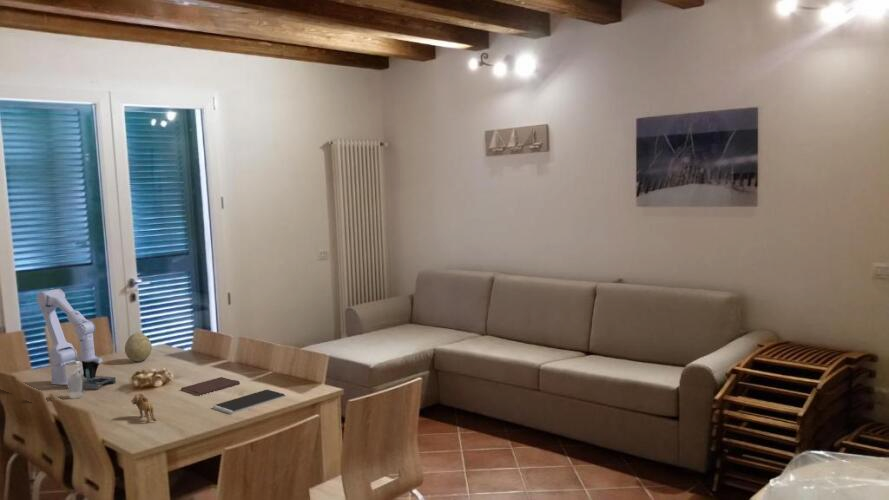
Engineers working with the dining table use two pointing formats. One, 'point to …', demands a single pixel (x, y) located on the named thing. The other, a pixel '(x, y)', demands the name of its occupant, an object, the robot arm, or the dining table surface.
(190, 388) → the notebook
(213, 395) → the dining table surface
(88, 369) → the peg
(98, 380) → the keyhole plate
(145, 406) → the lion figurine
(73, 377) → the beer glass
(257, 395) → the smartphone
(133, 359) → the fossilized egg
